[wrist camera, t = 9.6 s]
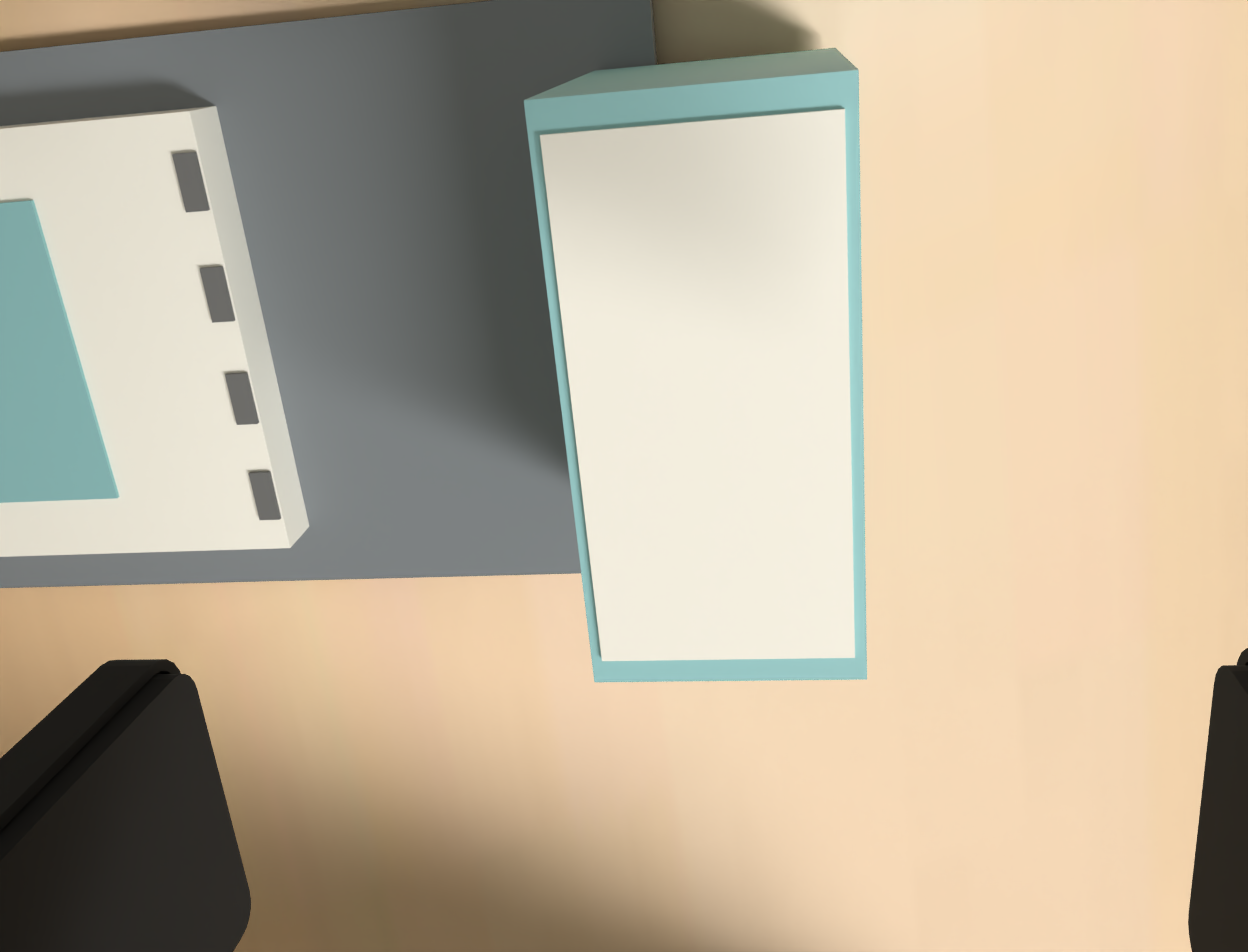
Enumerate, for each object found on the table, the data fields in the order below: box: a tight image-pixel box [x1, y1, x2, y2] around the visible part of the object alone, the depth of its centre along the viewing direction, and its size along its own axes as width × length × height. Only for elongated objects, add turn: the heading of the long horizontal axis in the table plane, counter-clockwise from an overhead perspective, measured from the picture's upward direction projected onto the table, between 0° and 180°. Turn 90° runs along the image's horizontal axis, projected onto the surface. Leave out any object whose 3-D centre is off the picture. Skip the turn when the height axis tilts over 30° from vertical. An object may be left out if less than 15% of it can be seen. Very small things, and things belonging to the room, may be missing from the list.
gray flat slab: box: [0, 0, 657, 588], centre depth 26 cm, size 22×13×2 cm, turn 95°
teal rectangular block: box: [524, 48, 867, 682], centre depth 21 cm, size 5×10×7 cm, turn 6°
